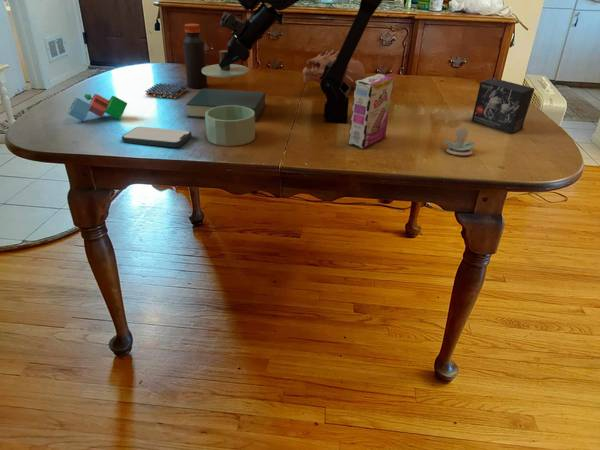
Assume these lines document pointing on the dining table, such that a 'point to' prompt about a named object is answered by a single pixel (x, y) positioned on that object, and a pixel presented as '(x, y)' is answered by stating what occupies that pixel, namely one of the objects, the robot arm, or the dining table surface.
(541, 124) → the dining table surface
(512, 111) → the small box
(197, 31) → the bottle
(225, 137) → the dish
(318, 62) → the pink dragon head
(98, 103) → the building blocks
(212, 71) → the cover
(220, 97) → the book
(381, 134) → the candy bar box
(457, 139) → the pacifier
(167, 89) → the woven mat
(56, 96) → the dining table surface
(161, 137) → the smartphone
